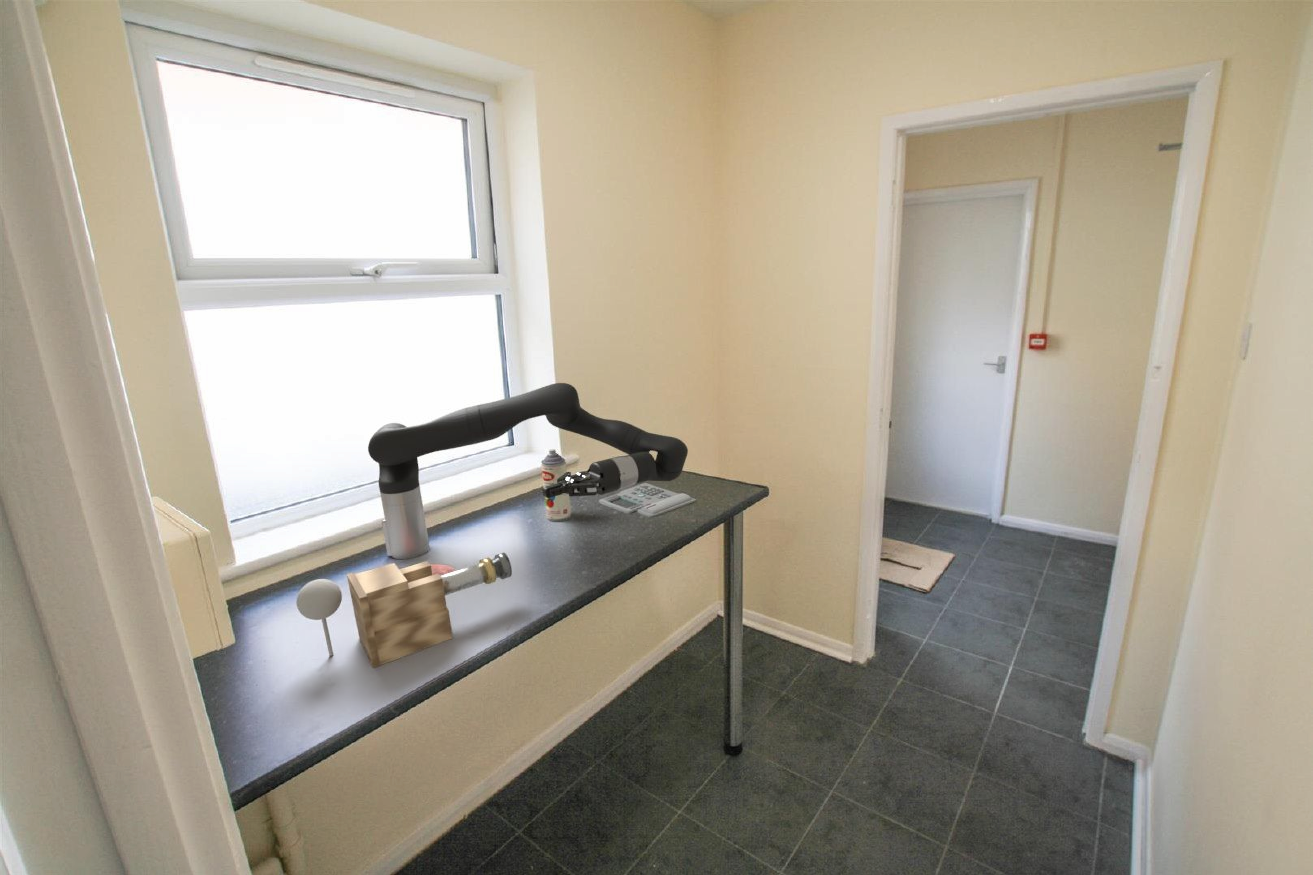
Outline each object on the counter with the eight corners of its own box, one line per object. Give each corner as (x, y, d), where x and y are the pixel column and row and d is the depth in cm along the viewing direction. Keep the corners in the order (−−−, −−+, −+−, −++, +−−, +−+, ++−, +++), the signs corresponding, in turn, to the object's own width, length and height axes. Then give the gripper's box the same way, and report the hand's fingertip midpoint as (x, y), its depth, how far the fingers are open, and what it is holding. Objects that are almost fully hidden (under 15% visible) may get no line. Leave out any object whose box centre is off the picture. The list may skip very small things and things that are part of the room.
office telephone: (696, 494, 179) (646, 513, 166) (697, 503, 180) (646, 522, 167) (645, 478, 196) (595, 495, 183) (645, 486, 197) (596, 503, 184)
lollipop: (359, 642, 115) (345, 570, 111) (341, 665, 108) (325, 589, 105) (321, 645, 115) (306, 573, 111) (301, 668, 108) (284, 592, 104)
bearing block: (373, 667, 107) (359, 598, 104) (359, 638, 116) (346, 574, 113) (453, 637, 115) (442, 572, 112) (434, 612, 124) (424, 551, 121)
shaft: (427, 609, 115) (423, 584, 113) (419, 599, 119) (415, 575, 117) (513, 580, 124) (510, 557, 123) (503, 571, 128) (500, 549, 127)
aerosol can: (542, 518, 173) (534, 450, 168) (561, 511, 178) (555, 445, 173) (556, 523, 168) (549, 454, 163) (575, 516, 173) (569, 449, 168)
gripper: (597, 453, 142) (529, 469, 132) (628, 464, 132) (556, 483, 122) (599, 483, 144) (532, 501, 134) (630, 496, 134) (560, 517, 124)
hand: (544, 492), depth 128 cm, fingers closed
